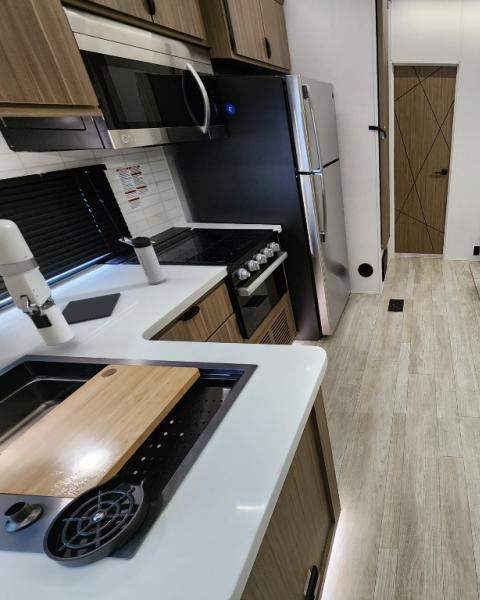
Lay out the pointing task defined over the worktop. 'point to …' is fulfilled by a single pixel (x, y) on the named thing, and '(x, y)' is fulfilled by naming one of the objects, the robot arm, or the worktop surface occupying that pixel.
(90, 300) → the mat
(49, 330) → the can
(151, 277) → the travel mug
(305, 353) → the worktop surface
